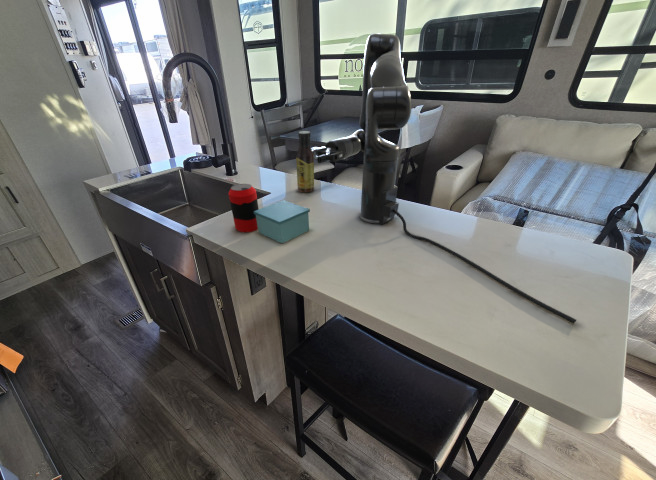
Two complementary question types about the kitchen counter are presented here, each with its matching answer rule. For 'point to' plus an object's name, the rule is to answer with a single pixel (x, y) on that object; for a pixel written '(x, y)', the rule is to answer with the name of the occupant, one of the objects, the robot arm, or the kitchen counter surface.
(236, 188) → the soda can
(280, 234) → the storage box
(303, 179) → the sauce bottle
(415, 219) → the kitchen counter surface
